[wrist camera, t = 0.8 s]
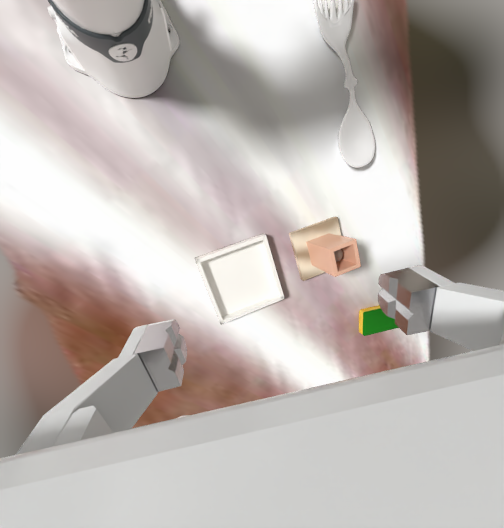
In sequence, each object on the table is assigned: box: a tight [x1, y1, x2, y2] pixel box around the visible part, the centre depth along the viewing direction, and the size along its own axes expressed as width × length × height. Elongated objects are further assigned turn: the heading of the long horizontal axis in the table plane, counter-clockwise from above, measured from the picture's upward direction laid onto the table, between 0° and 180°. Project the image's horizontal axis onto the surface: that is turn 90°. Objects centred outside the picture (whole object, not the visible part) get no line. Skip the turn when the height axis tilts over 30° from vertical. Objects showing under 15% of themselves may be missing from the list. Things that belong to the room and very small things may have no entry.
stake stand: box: [289, 217, 343, 281], centre depth 55 cm, size 12×12×8 cm
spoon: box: [313, 0, 375, 168], centre depth 50 cm, size 9×32×4 cm, turn 19°
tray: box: [195, 234, 285, 324], centre depth 55 cm, size 16×16×2 cm
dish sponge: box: [359, 305, 399, 336], centre depth 68 cm, size 7×14×2 cm, turn 96°
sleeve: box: [306, 233, 361, 277], centre depth 53 cm, size 6×6×10 cm
